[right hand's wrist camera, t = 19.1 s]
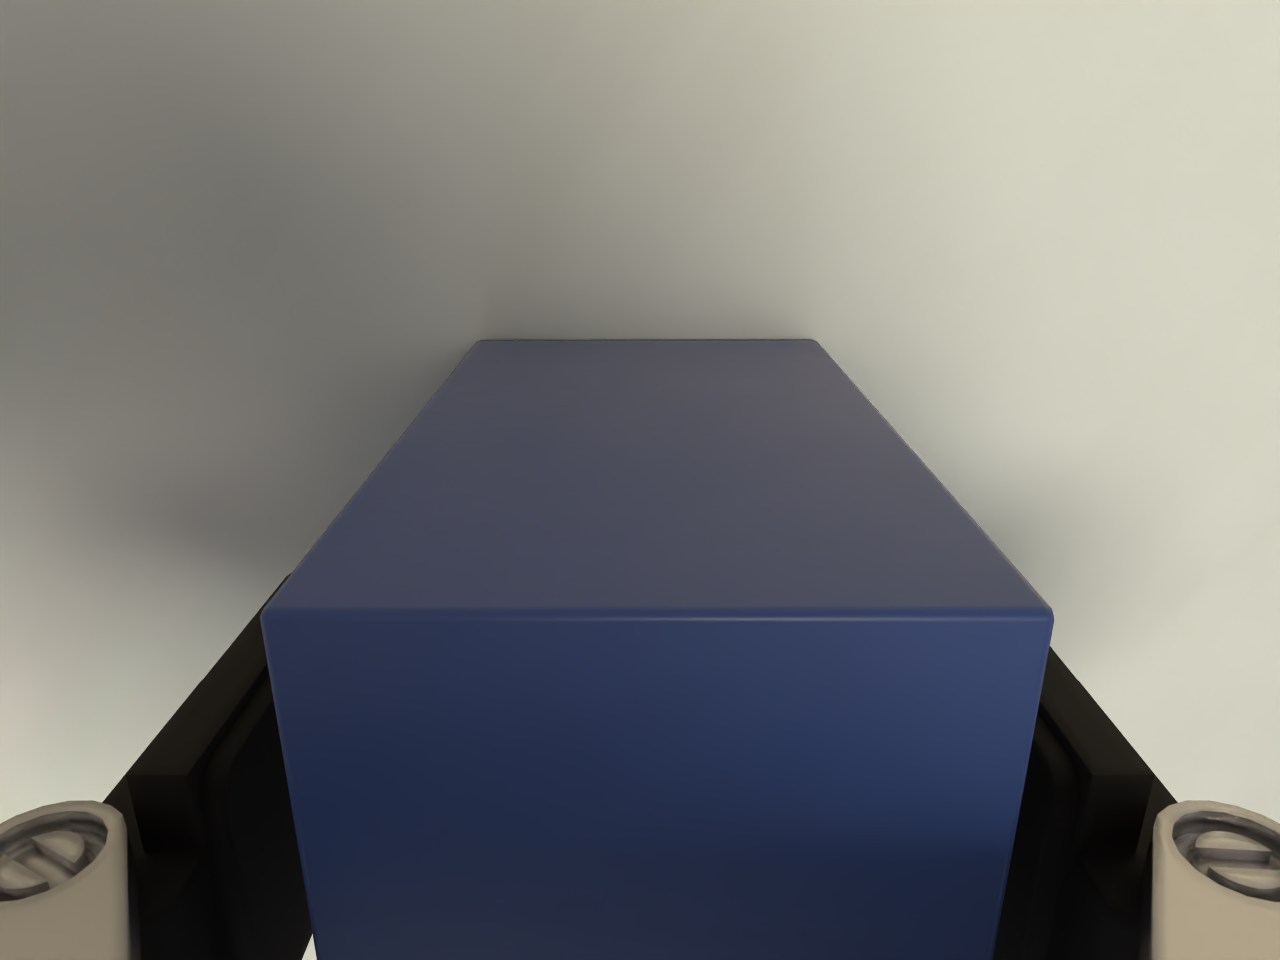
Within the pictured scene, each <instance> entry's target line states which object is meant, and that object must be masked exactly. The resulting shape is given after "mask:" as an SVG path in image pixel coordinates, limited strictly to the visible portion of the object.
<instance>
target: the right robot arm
mask: <svg viewBox="0 0 1280 960" xmlns="http://www.w3.org/2000/svg"><path fill="white" fill-rule="evenodd" d="M290 575H291V573H290V574H289V575H288V576H287V577H286V578H285V579H284V580H283V582H282V583H281V584H280V585H279V586H278V588H277V589H276V590H275V591H274V593H273V594H272V595H271V596H270V598H269V599H268V600H267V601H266V603H265V604H264V605H263V606H262V607H261V609H260V610H259V611H258V612H257V614H256V615H255V616H254V617H253V619H252V620H251V621H250V622H249V623H248V625H247V626H246V627H245V628H244V630H243V631H242V632H241V633H240V635H239V636H238V637H237V638H236V640H235V641H234V642H233V643H232V644H231V646H230V647H229V648H228V649H227V651H226V652H225V653H224V654H223V656H222V657H221V658H220V659H219V660H218V662H217V663H216V664H215V665H214V667H213V668H212V669H211V670H210V672H209V673H208V674H207V675H206V676H205V678H204V679H203V680H202V681H201V682H200V683H199V684H198V686H197V687H196V688H195V689H194V690H193V692H192V693H191V694H190V695H189V697H188V698H187V699H186V700H185V702H184V703H183V704H182V705H181V706H180V708H179V709H178V710H177V711H176V713H175V714H174V715H173V716H172V718H171V719H170V720H169V721H168V722H167V724H166V725H165V726H164V727H163V729H162V730H161V731H160V732H159V734H158V735H157V736H156V737H155V738H154V740H153V741H152V742H151V743H150V745H149V746H148V747H147V748H146V750H145V751H144V752H143V753H142V754H141V756H140V757H139V758H138V759H137V761H136V762H135V763H134V764H133V766H132V767H131V768H130V769H129V770H128V772H127V773H126V774H125V775H124V777H123V778H122V779H121V780H120V782H119V783H118V784H117V785H116V786H115V788H114V789H113V790H112V791H111V793H110V794H109V795H108V796H107V798H106V799H105V800H104V801H103V802H102V803H100V802H96V801H66V802H61V803H56V804H51V805H46V806H42V807H39V808H36V809H33V810H31V811H28V812H25V813H22V814H19V815H16V816H14V817H13V818H11V819H9V820H7V821H5V822H3V823H1V824H0V960H302V958H303V955H304V953H305V950H306V948H307V946H308V943H309V941H310V938H311V936H312V933H313V932H312V926H311V920H310V914H309V908H308V902H307V896H306V890H305V884H304V878H303V872H302V866H301V860H300V854H299V848H298V842H297V836H296V831H295V825H294V819H293V813H292V807H291V801H290V795H289V789H288V783H287V777H286V771H285V765H284V759H283V753H282V747H281V741H280V735H279V729H278V723H277V717H276V711H275V705H274V699H273V693H272V687H271V681H270V675H269V669H268V663H267V657H266V651H265V645H264V639H263V633H262V627H261V620H260V617H261V613H262V610H263V608H264V607H265V606H266V605H267V603H268V602H269V601H270V600H271V598H272V597H273V596H274V595H275V593H276V592H277V591H278V590H279V588H280V587H281V586H282V585H283V583H284V582H285V581H286V580H287V578H288V577H289V576H290ZM993 960H1280V824H1279V823H1277V822H1275V821H1273V820H1271V819H1269V818H1267V817H1266V816H1264V815H1261V814H1258V813H1255V812H1252V811H1249V810H1247V809H1244V808H1241V807H1238V806H1234V805H1229V804H1224V803H1219V802H1214V801H1184V802H1180V803H1177V801H1176V800H1175V799H1174V798H1173V796H1172V795H1171V794H1170V793H1169V791H1168V790H1167V789H1166V788H1165V787H1164V785H1163V784H1162V783H1161V782H1160V780H1159V779H1158V778H1157V777H1156V775H1155V774H1154V773H1153V772H1152V770H1151V769H1150V768H1149V767H1148V766H1147V764H1146V763H1145V762H1144V761H1143V759H1142V758H1141V757H1140V756H1139V754H1138V753H1137V752H1136V751H1135V750H1134V748H1133V747H1132V746H1131V745H1130V743H1129V742H1128V741H1127V740H1126V738H1125V737H1124V736H1123V735H1122V734H1121V732H1120V731H1119V730H1118V729H1117V727H1116V726H1115V725H1114V724H1113V722H1112V721H1111V720H1110V719H1109V718H1108V716H1107V715H1106V714H1105V713H1104V711H1103V710H1102V709H1101V708H1100V706H1099V705H1098V704H1097V703H1096V702H1095V700H1094V699H1093V698H1092V697H1091V695H1090V694H1089V693H1088V692H1087V690H1086V689H1085V688H1084V687H1083V686H1082V684H1081V683H1080V682H1079V681H1078V680H1077V679H1076V678H1075V677H1074V675H1073V674H1072V673H1071V672H1070V670H1069V669H1068V668H1067V667H1066V665H1065V664H1064V663H1063V662H1062V660H1061V659H1060V658H1059V657H1058V656H1057V654H1056V653H1055V652H1054V651H1053V649H1052V648H1051V647H1050V646H1049V651H1048V657H1047V662H1046V668H1045V673H1044V679H1043V684H1042V690H1041V695H1040V701H1039V706H1038V712H1037V717H1036V723H1035V728H1034V734H1033V740H1032V745H1031V751H1030V756H1029V762H1028V767H1027V773H1026V778H1025V784H1024V789H1023V795H1022V800H1021V806H1020V811H1019V817H1018V822H1017V828H1016V834H1015V839H1014V845H1013V850H1012V856H1011V861H1010V867H1009V872H1008V878H1007V883H1006V889H1005V894H1004V900H1003V905H1002V911H1001V916H1000V922H999V928H998V933H997V939H996V944H995V950H994V955H993Z"/></svg>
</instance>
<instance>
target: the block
mask: <svg viewBox="0 0 1280 960" xmlns="http://www.w3.org/2000/svg"><path fill="white" fill-rule="evenodd" d="M260 620H261V627H262V633H263V639H264V645H265V651H266V657H267V663H268V669H269V675H270V681H271V687H272V693H273V699H274V705H275V711H276V717H277V723H278V729H279V735H280V741H281V747H282V753H283V759H284V765H285V771H286V777H287V783H288V789H289V795H290V801H291V807H292V813H293V819H294V825H295V831H296V836H297V842H298V848H299V854H300V860H301V866H302V872H303V878H304V884H305V890H306V896H307V902H308V908H309V914H310V920H311V926H312V932H313V938H314V944H315V950H316V956H317V960H993V955H994V950H995V944H996V939H997V933H998V928H999V922H1000V916H1001V911H1002V905H1003V900H1004V894H1005V889H1006V883H1007V878H1008V872H1009V867H1010V861H1011V856H1012V850H1013V845H1014V839H1015V834H1016V828H1017V822H1018V817H1019V811H1020V806H1021V800H1022V795H1023V789H1024V784H1025V778H1026V773H1027V767H1028V762H1029V756H1030V751H1031V745H1032V740H1033V734H1034V728H1035V723H1036V717H1037V712H1038V706H1039V701H1040V695H1041V690H1042V684H1043V679H1044V673H1045V668H1046V662H1047V657H1048V651H1049V646H1050V640H1051V634H1052V629H1053V623H1054V615H1053V612H1052V609H1051V607H1050V606H1049V605H1048V604H1047V603H1046V602H1045V601H1044V600H1043V598H1042V597H1041V596H1040V595H1039V594H1038V593H1037V592H1036V590H1035V589H1034V588H1033V587H1032V586H1031V585H1030V584H1029V582H1028V581H1027V580H1026V579H1025V578H1024V577H1023V576H1022V574H1021V573H1020V572H1019V571H1018V570H1017V569H1016V568H1015V567H1014V565H1013V564H1012V563H1011V562H1010V561H1009V560H1008V559H1007V557H1006V556H1005V555H1004V554H1003V553H1002V552H1001V551H1000V549H999V548H998V547H997V546H996V545H995V544H994V543H993V541H992V540H991V539H990V538H989V537H988V536H987V535H986V533H985V532H984V531H983V530H982V529H981V528H980V527H979V526H978V524H977V523H976V522H975V521H974V520H973V519H972V518H971V516H970V515H969V514H968V513H967V512H966V511H965V510H964V508H963V507H962V506H961V505H960V504H959V503H958V502H957V500H956V499H955V498H954V497H953V496H952V495H951V494H950V492H949V491H948V490H947V489H946V488H945V487H944V486H943V485H942V483H941V482H940V481H939V480H938V479H937V478H936V477H935V475H934V474H933V473H932V472H931V471H930V470H929V469H928V467H927V466H926V465H925V464H924V463H923V462H922V461H921V459H920V458H919V457H918V456H917V455H916V454H915V453H914V451H913V450H912V449H911V448H910V447H909V446H908V445H907V444H906V442H905V441H904V440H903V439H902V438H901V437H900V436H899V434H898V433H897V432H896V431H895V430H894V429H893V428H892V426H891V425H890V424H889V423H888V422H887V421H886V420H885V418H884V417H883V416H882V415H881V414H880V413H879V412H878V410H877V409H876V408H875V407H874V406H873V405H872V404H871V403H870V401H869V400H868V399H867V398H866V397H865V396H864V395H863V393H862V392H861V391H860V390H859V389H858V388H857V387H856V385H855V384H854V383H853V382H852V381H851V380H850V379H849V377H848V376H847V375H846V374H845V373H844V372H843V371H842V369H841V368H840V367H839V366H838V365H837V364H836V363H835V362H834V360H833V359H832V358H831V357H830V356H829V355H828V354H827V352H826V351H825V350H824V349H823V348H822V347H821V346H820V344H819V343H818V342H817V341H814V340H480V341H478V342H477V343H476V344H475V345H474V346H473V348H472V349H471V350H470V351H469V353H468V354H467V355H466V356H465V358H464V359H463V360H462V361H461V363H460V364H459V365H458V366H457V368H456V369H455V370H454V371H453V372H452V374H451V375H450V376H449V377H448V379H447V380H446V381H445V382H444V384H443V385H442V386H441V387H440V389H439V390H438V391H437V392H436V394H435V395H434V396H433V397H432V399H431V400H430V401H429V402H428V404H427V405H426V406H425V407H424V409H423V410H422V411H421V412H420V414H419V415H418V416H417V417H416V419H415V420H414V421H413V422H412V424H411V425H410V426H409V427H408V429H407V430H406V431H405V432H404V434H403V435H402V436H401V437H400V439H399V440H398V441H397V442H396V444H395V445H394V446H393V447H392V449H391V450H390V451H389V452H388V454H387V455H386V456H385V457H384V459H383V460H382V461H381V462H380V464H379V465H378V466H377V467H376V469H375V470H374V471H373V472H372V474H371V475H370V476H369V477H368V479H367V480H366V481H365V482H364V484H363V485H362V486H361V487H360V489H359V490H358V491H357V492H356V494H355V495H354V496H353V497H352V499H351V500H350V501H349V502H348V504H347V505H346V506H345V507H344V509H343V510H342V511H341V512H340V514H339V515H338V516H337V517H336V519H335V520H334V521H333V522H332V524H331V525H330V526H329V527H328V529H327V530H326V531H325V532H324V534H323V535H322V536H321V537H320V539H319V540H318V541H317V542H316V544H315V545H314V546H313V547H312V549H311V550H310V551H309V552H308V554H307V555H306V556H305V557H304V559H303V560H302V561H301V562H300V564H299V565H298V566H297V567H296V569H295V570H294V571H293V572H292V573H291V575H290V576H289V577H288V578H287V580H286V581H285V582H284V583H283V585H282V586H281V587H280V588H279V590H278V591H277V592H276V593H275V595H274V596H273V597H272V598H271V600H270V601H269V602H268V603H267V605H266V606H265V607H264V608H263V610H262V613H261V617H260Z"/></svg>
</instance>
